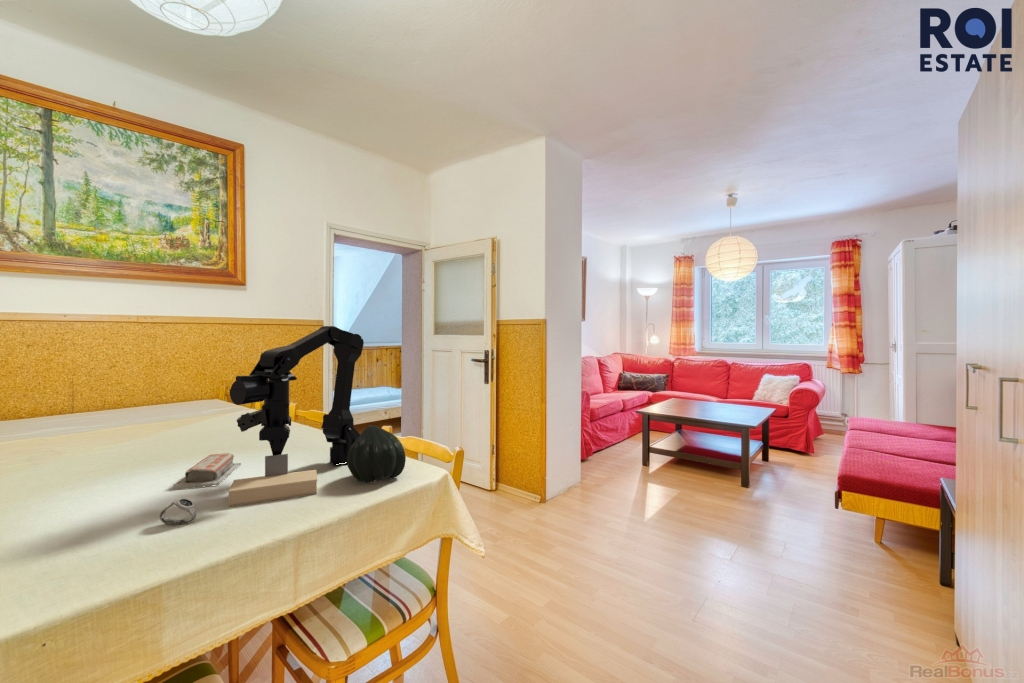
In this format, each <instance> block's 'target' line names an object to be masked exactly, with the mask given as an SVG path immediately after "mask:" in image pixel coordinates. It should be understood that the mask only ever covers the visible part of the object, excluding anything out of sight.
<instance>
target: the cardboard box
mask: <svg viewBox="0 0 1024 683" xmlns="http://www.w3.org/2000/svg"><path fill="white" fill-rule="evenodd" d="M317 483H318V480H317V481H316V482H309V483H301V484H294V485H286V486H279V487H271V488H264V489H257V490H249V491H242V492H234V493H229V492H228V506H229V507H235V506H243V505H249V504H256V503H263V502H271V501H277V500H284V499H291V498H296V497H304V496H310V495H316V494H317V487H318V486H317Z"/></svg>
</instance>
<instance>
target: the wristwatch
mask: <svg viewBox="0 0 1024 683" xmlns="http://www.w3.org/2000/svg"><path fill="white" fill-rule="evenodd" d="M173 505H174V506H175V507H176V508H178V509H179V510H182V511H186V512H188V513H189V515H190V520H189V519H188V520H184V519H180V520H179V519H171V518H169V517H167V516H166V511H167V510H168V509H169V508H170V507H173ZM196 517H197V509H196V506H195V503H193V502H192V501H191V499H187V498H179V499H176V500H174V501H173V502H171V503H169V505H168V506H166V507H165V508H163V509H162V510H161V511H160V513H159V519H160V521H161V523H163V524H164V525H166V526H171V527H175V526H185V525H188V524H190V523H191V522H193V521H194V520H195V518H196Z"/></svg>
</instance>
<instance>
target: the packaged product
mask: <svg viewBox="0 0 1024 683" xmlns="http://www.w3.org/2000/svg"><path fill="white" fill-rule="evenodd" d="M234 457H235V456H234V454H233V453H230V452H227V453H226V452H225V453H214V454H210V455H208V456H206V457H204V458H203V459H202V460H200V461H199V462H197V463H196V464H194V465H193V466H191V467H190V468H188V469H187V470H186V471H185V474H184V477H183V478H182V479H179V480H178V481H177V482H175V483H174V484H173V485H172V486H173V490H174V489H176V490H183V489H182V488H188V489H194V488H193V487H200V488H204V487H203V486H212V485H219V484H220V483H221V482H222V481H223V480H224V481H225V480H226V479H227V478H229V477H230V476H231V475H232V474H233V473H234V472H235V471H236V470H237V469H238V468H239V467H240V466H241V465H242V463H241V462H238V463H237V462H235V463H234ZM239 465H240V466H239ZM238 466H239V467H238ZM236 468H237V469H236ZM235 469H236V470H235ZM234 470H235V471H234ZM233 471H234V472H233ZM232 472H233V473H232ZM231 473H232V474H231ZM230 474H231V475H230ZM229 475H230V476H229ZM228 476H229V477H228ZM226 477H227V478H226ZM225 478H226V479H225ZM224 481H223V482H224ZM223 482H222V483H223ZM222 483H221V484H222ZM221 484H220V485H221ZM220 485H219V486H220ZM212 487H213V486H212Z"/></svg>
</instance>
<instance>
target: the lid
mask: <svg viewBox="0 0 1024 683" xmlns="http://www.w3.org/2000/svg"><path fill="white" fill-rule="evenodd" d="M288 459H289V455H288V453H285V454H284V453H283V454H281V455H273V454H272V455H265V456H264V475H263V476H253V477H246V478H238V479H234V480H232V483H231V485H230V488H229V490H228V494H229V493H234V492H242V491H249V490H257V489H264V488H271V487H279V486H286V485H294V484H301V483H309V482H316V481H317V482H318V475H317V469H312V470H311V469H310V470H303V471H302V470H301V471H296V472H289V469H288V468H289V465H288V464H289V460H288Z"/></svg>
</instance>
